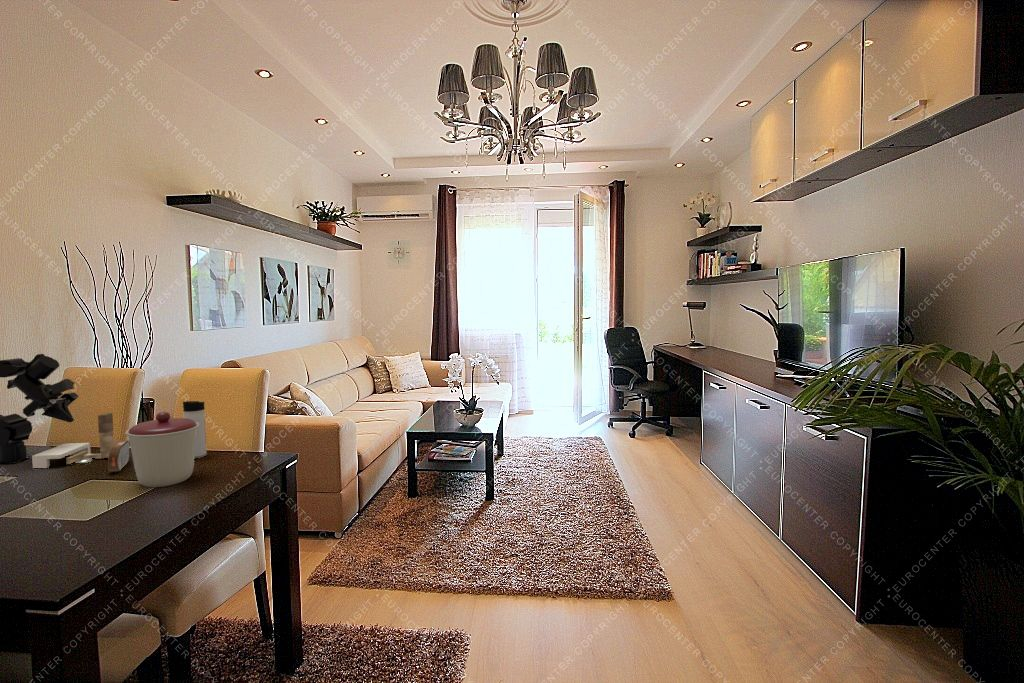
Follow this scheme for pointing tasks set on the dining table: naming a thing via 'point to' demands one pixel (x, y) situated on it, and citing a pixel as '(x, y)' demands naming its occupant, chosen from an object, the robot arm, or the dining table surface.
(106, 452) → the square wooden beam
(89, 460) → the grey metal disc
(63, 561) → the dining table surface
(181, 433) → the canister
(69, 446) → the cream rectangular box
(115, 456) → the tin
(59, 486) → the dining table surface
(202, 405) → the travel mug
